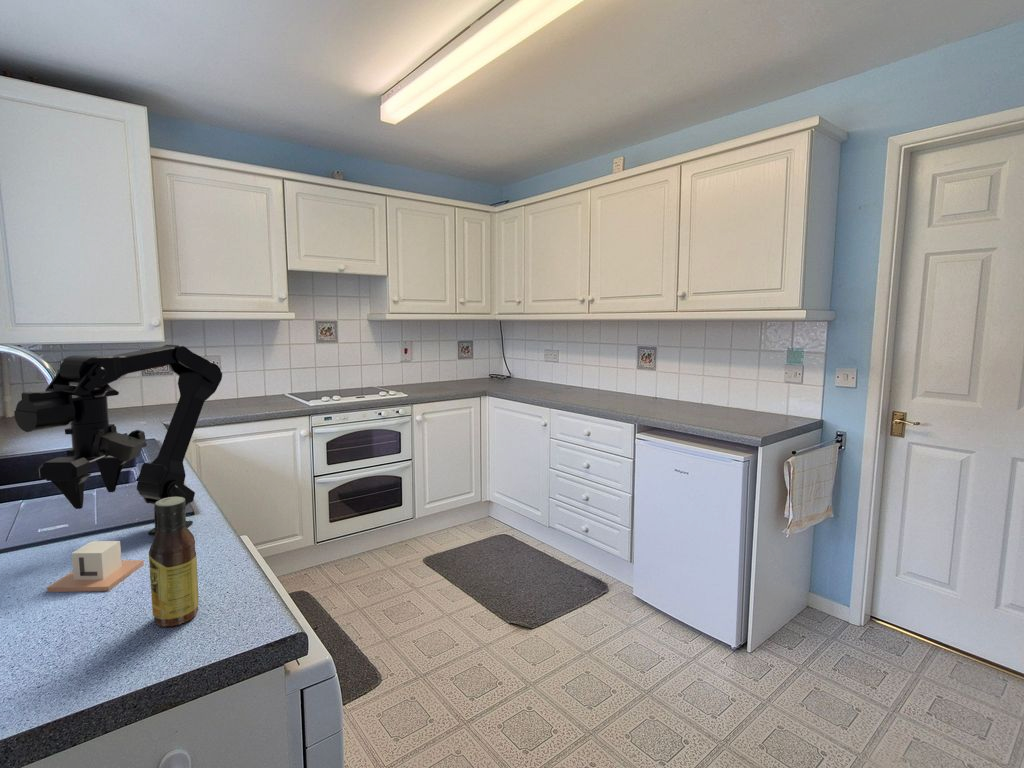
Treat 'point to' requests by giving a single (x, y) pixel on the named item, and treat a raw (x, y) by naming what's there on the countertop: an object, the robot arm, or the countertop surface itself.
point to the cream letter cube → (96, 560)
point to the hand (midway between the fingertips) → (95, 499)
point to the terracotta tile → (96, 585)
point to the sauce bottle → (173, 565)
